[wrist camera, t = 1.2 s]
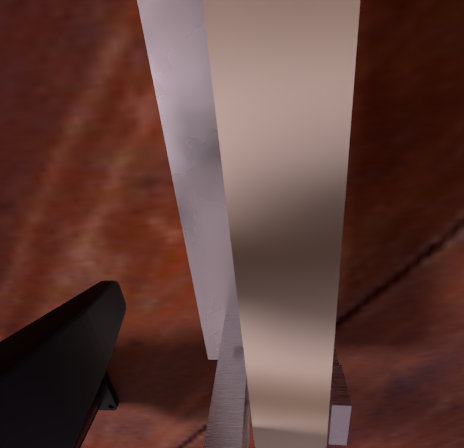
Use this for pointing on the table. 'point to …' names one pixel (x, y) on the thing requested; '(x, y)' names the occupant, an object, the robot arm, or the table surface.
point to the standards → (209, 214)
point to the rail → (285, 195)
